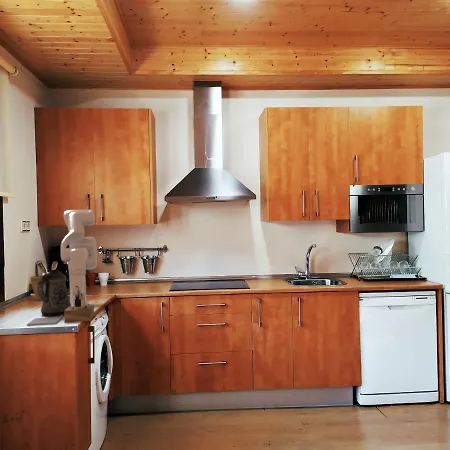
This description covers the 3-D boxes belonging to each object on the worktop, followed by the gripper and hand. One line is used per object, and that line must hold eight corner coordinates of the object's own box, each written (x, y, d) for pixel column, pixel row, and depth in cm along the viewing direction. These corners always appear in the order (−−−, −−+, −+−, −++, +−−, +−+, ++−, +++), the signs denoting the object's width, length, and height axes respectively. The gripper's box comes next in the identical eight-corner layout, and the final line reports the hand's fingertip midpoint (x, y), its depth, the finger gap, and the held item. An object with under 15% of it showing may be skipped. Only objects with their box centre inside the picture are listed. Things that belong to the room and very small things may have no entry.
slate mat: (34, 319, 237) (34, 318, 237) (62, 318, 239) (62, 316, 239) (27, 325, 223) (27, 324, 223) (56, 324, 225) (56, 322, 225)
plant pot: (59, 297, 308) (58, 274, 308) (45, 301, 294) (44, 277, 294) (41, 297, 312) (40, 274, 312) (26, 301, 298) (25, 277, 298)
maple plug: (75, 318, 237) (74, 295, 237) (85, 317, 238) (85, 295, 238) (73, 320, 232) (72, 297, 232) (84, 319, 233) (83, 297, 233)
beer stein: (75, 310, 260) (74, 267, 259) (64, 317, 240) (63, 271, 240) (47, 311, 259) (45, 268, 259) (34, 318, 240) (32, 272, 240)
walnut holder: (69, 317, 241) (69, 306, 241) (94, 315, 243) (93, 304, 243) (64, 322, 228) (64, 310, 228) (90, 320, 230) (90, 309, 230)
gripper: (74, 270, 243) (75, 303, 243) (67, 274, 226) (68, 309, 226) (88, 270, 244) (89, 302, 244) (82, 273, 227) (83, 308, 227)
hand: (79, 305), depth 235 cm, fingers open, 7 cm apart
